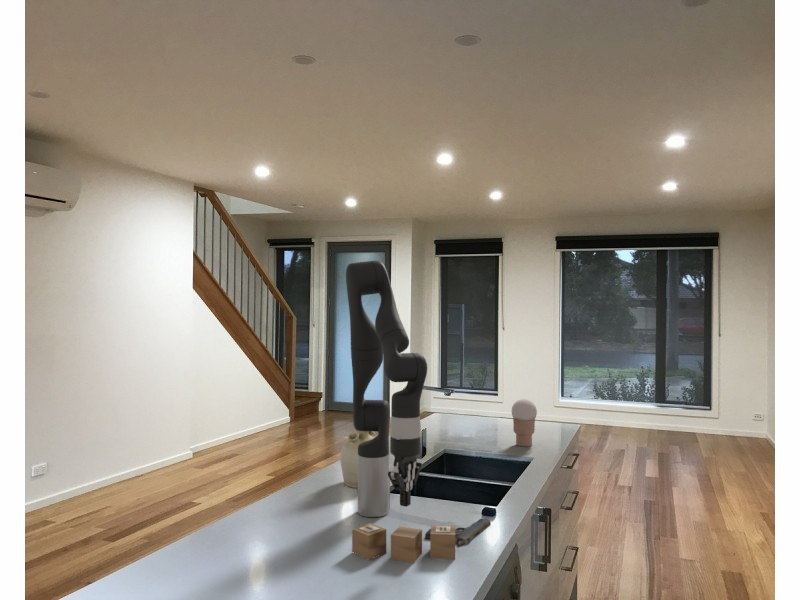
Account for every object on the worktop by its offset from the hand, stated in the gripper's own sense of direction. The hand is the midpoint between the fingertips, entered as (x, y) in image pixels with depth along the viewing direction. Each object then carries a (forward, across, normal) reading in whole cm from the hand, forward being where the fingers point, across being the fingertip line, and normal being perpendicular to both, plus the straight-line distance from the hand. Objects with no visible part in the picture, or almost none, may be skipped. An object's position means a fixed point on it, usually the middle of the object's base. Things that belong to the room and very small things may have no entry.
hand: (405, 505), depth 150 cm
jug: (+12, -45, -43) cm, 63 cm away
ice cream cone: (+11, -128, -15) cm, 130 cm away
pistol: (+13, -22, +4) cm, 26 cm away
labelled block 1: (+13, +2, -9) cm, 16 cm away
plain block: (+13, -1, 0) cm, 13 cm away
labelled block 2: (+13, -7, +7) cm, 16 cm away
